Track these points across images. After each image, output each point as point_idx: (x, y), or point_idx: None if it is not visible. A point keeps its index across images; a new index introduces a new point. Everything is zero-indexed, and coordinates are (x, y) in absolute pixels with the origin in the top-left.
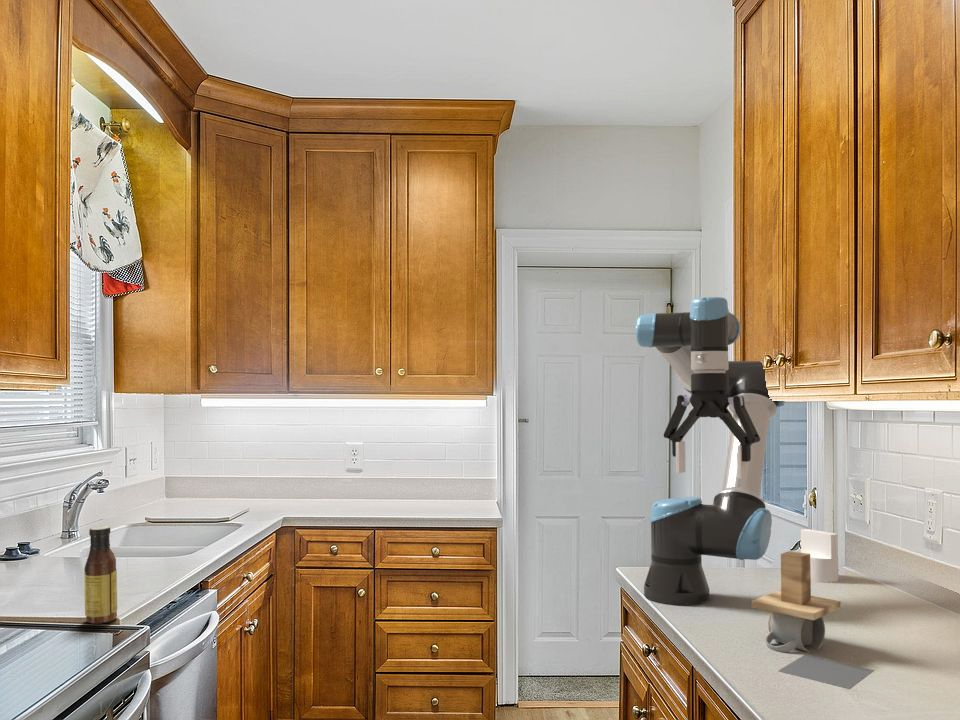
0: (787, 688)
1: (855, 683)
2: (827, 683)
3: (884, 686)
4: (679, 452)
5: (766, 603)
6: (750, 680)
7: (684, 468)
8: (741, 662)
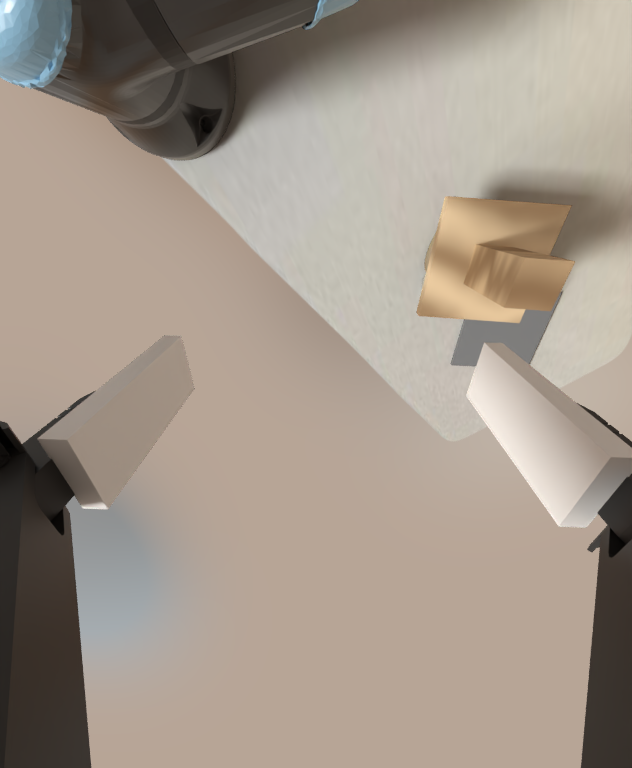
0: (465, 392)
1: (534, 349)
2: None
3: (565, 328)
4: (145, 451)
5: (443, 314)
6: (429, 394)
7: (175, 352)
8: (407, 355)
